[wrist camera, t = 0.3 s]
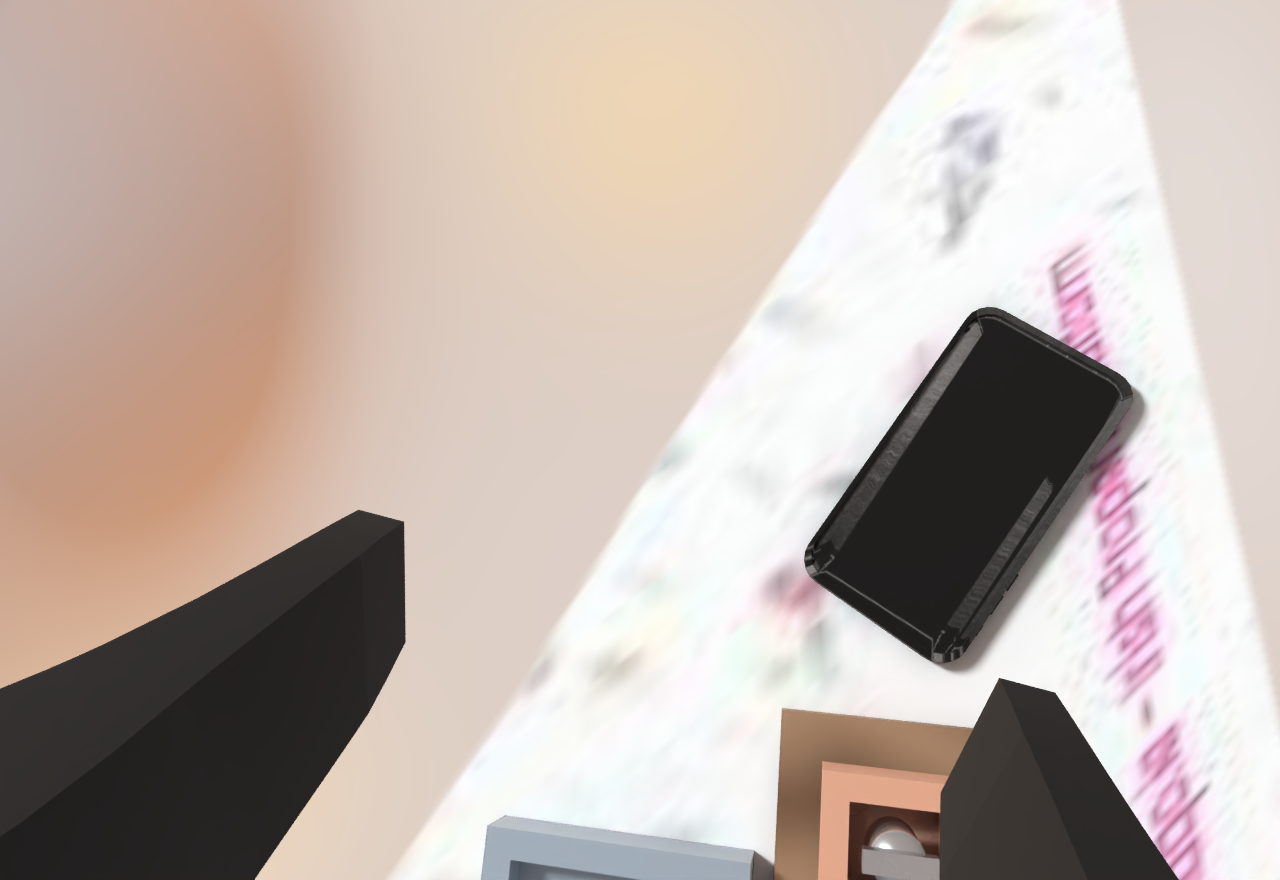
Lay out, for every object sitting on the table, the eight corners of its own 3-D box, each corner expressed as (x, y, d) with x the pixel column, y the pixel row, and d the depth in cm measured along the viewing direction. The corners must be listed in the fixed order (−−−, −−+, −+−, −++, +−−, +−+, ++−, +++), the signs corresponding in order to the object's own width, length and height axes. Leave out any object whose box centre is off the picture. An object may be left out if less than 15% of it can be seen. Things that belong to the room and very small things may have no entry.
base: (1003, 971, 33) (1008, 979, 32) (771, 934, 35) (771, 941, 34) (1001, 731, 35) (1006, 733, 34) (782, 708, 37) (781, 709, 36)
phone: (793, 565, 38) (980, 297, 39) (794, 567, 39) (976, 307, 40) (951, 676, 35) (1146, 388, 36) (948, 675, 36) (1136, 395, 37)
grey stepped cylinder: (945, 904, 33) (966, 945, 29) (831, 887, 34) (834, 925, 30) (946, 786, 34) (966, 808, 30) (835, 772, 35) (838, 791, 31)
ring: (993, 936, 32) (1008, 959, 29) (816, 909, 33) (817, 929, 31) (992, 781, 33) (1006, 791, 31) (822, 761, 34) (823, 769, 32)
